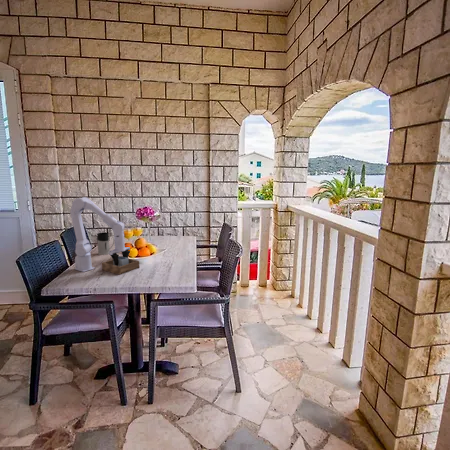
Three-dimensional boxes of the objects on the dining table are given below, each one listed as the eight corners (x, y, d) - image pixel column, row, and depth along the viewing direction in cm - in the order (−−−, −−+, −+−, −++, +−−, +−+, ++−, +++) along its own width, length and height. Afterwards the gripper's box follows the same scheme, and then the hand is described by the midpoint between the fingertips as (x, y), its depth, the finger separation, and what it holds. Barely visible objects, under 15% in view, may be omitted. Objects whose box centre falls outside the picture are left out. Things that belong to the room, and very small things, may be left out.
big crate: (102, 270, 179) (101, 262, 178) (122, 263, 191) (121, 257, 190) (119, 274, 170) (119, 267, 170) (139, 267, 183) (139, 260, 182)
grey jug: (103, 251, 221) (102, 231, 219) (119, 253, 217) (117, 233, 214) (94, 254, 213) (93, 234, 210) (110, 256, 208) (109, 235, 206)
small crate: (113, 267, 180) (112, 258, 179) (120, 265, 185) (119, 256, 184) (122, 269, 176) (121, 260, 175) (128, 267, 181) (128, 258, 180)
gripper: (113, 245, 170) (115, 267, 172) (133, 240, 182) (134, 261, 184) (105, 243, 173) (107, 265, 176) (125, 239, 186) (126, 259, 188)
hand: (120, 263), depth 180 cm, fingers open, 6 cm apart
